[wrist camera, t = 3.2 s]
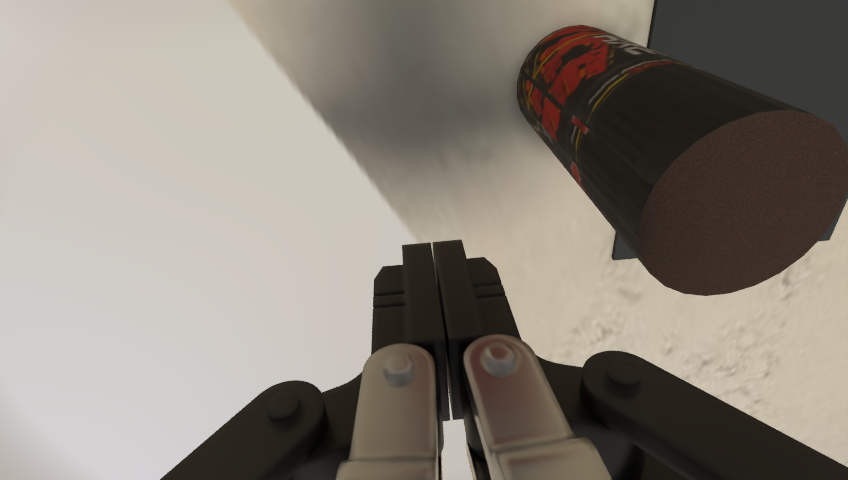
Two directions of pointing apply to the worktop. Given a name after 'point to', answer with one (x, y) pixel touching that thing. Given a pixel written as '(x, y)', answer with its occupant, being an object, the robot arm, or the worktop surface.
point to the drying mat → (762, 54)
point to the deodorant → (684, 159)
